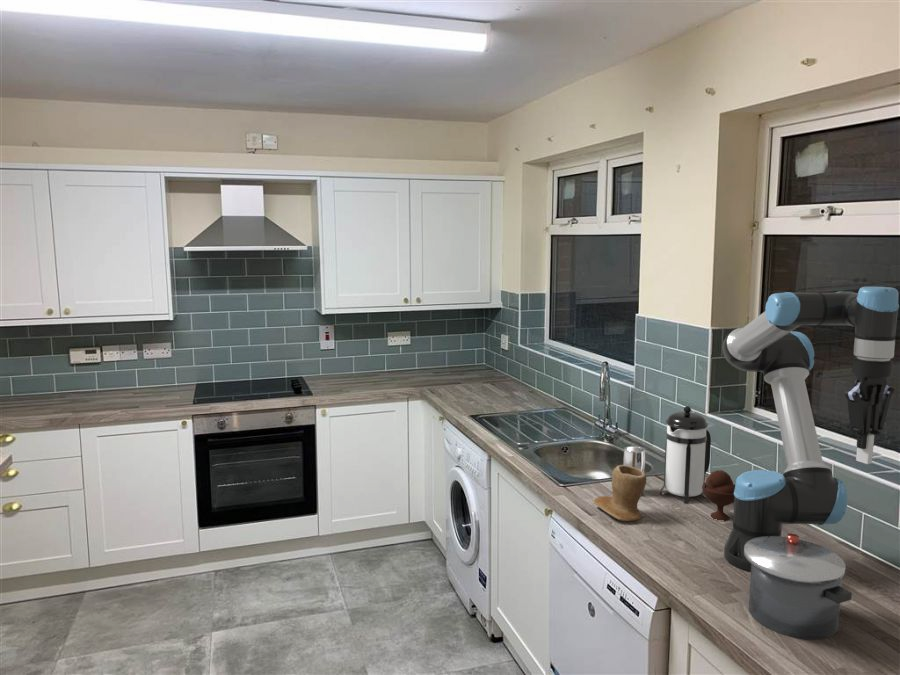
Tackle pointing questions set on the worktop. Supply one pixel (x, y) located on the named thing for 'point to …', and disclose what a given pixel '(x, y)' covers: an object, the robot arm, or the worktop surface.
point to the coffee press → (686, 454)
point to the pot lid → (794, 559)
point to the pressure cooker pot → (796, 605)
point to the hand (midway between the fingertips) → (863, 461)
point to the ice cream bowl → (719, 492)
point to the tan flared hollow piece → (624, 494)
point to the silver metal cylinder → (634, 457)
